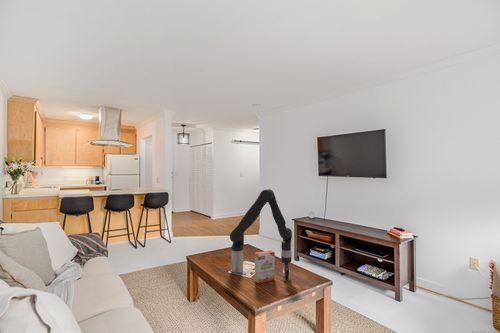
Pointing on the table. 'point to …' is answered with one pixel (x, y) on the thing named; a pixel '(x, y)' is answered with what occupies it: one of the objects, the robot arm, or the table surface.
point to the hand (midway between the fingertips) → (286, 278)
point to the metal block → (284, 276)
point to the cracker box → (264, 266)
